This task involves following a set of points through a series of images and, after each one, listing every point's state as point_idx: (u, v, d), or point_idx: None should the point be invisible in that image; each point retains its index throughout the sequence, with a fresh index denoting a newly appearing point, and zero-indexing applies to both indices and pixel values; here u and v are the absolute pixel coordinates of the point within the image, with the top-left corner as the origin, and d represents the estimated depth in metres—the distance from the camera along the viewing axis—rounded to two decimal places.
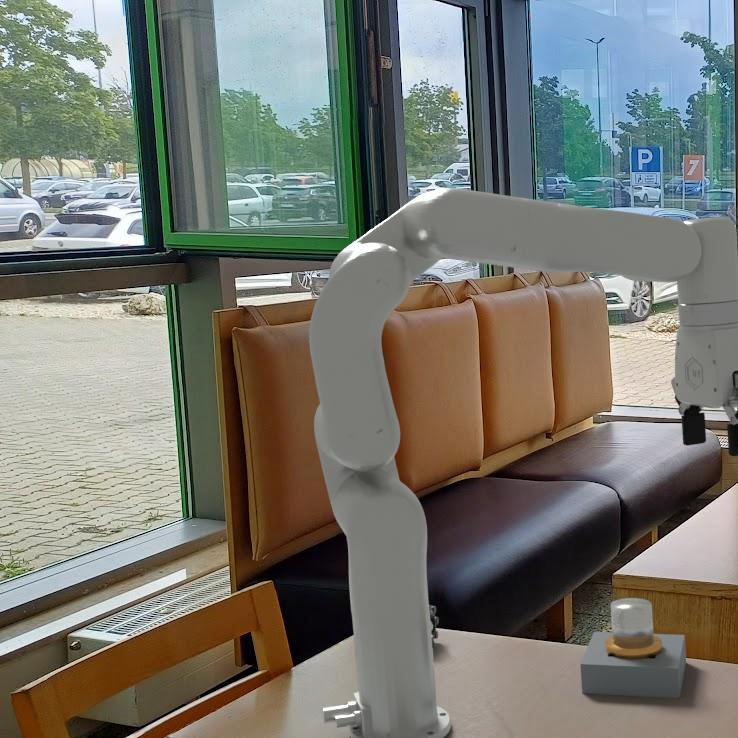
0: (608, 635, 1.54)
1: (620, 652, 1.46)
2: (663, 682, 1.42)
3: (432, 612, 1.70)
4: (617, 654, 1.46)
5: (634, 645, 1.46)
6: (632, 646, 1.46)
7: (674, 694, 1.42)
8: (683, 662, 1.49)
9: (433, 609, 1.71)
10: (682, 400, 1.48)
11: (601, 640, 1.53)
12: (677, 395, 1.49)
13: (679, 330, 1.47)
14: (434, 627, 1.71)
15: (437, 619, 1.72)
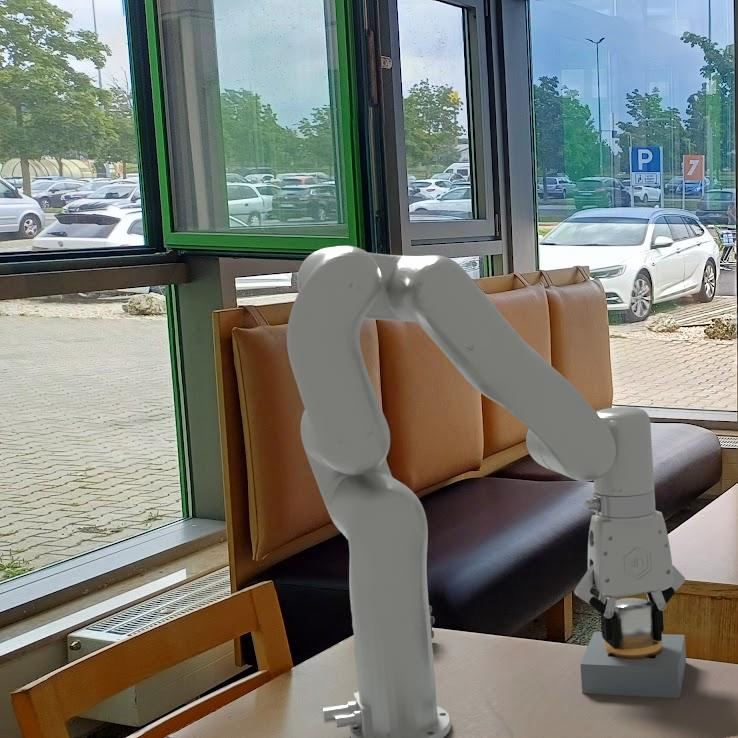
0: None
1: (620, 652, 1.46)
2: (663, 682, 1.42)
3: None
4: (617, 654, 1.46)
5: (634, 645, 1.46)
6: (632, 646, 1.46)
7: (674, 694, 1.42)
8: (683, 662, 1.49)
9: (429, 609, 1.71)
10: (617, 594, 1.45)
11: (601, 640, 1.53)
12: (608, 591, 1.44)
13: (609, 524, 1.44)
14: None
15: (433, 619, 1.72)
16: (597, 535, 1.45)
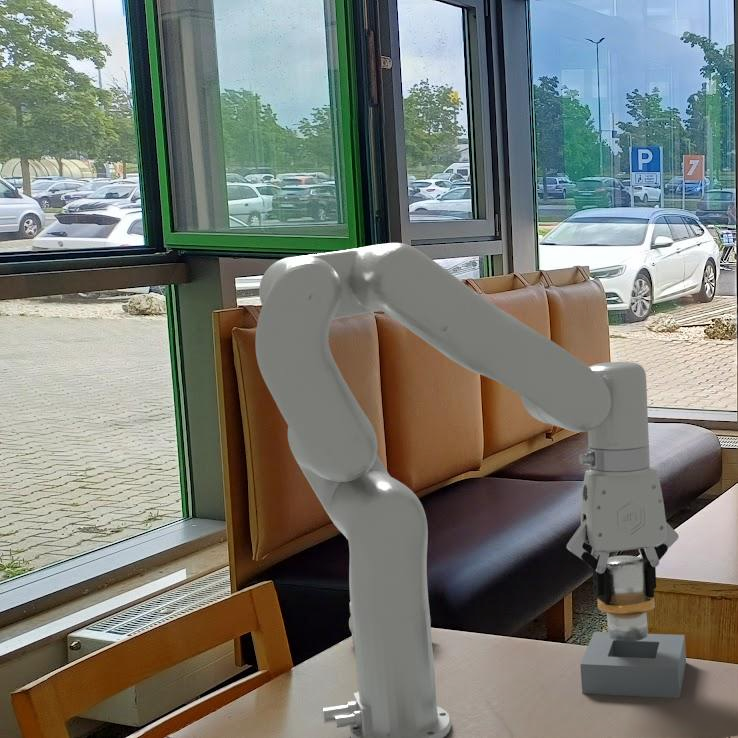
0: None
1: (613, 608, 1.45)
2: (663, 682, 1.42)
3: None
4: (609, 610, 1.45)
5: (627, 601, 1.45)
6: (625, 602, 1.45)
7: (674, 694, 1.42)
8: (683, 662, 1.49)
9: None
10: (609, 549, 1.44)
11: (601, 640, 1.53)
12: (601, 546, 1.44)
13: (603, 478, 1.43)
14: None
15: None
16: (591, 489, 1.44)
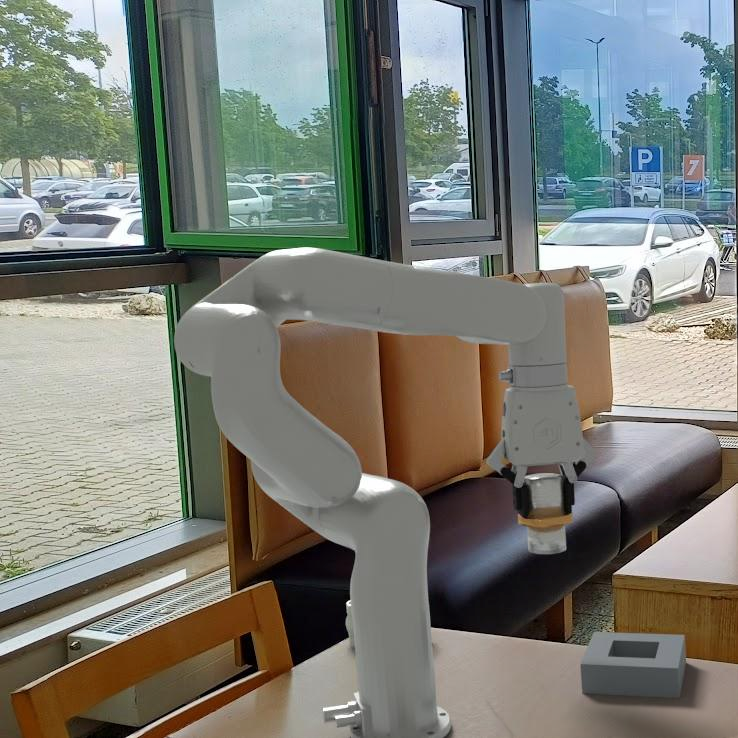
0: (608, 635, 1.54)
1: (530, 521, 1.49)
2: (663, 682, 1.42)
3: None
4: (527, 523, 1.50)
5: (544, 515, 1.49)
6: (542, 516, 1.49)
7: (674, 694, 1.42)
8: (683, 662, 1.49)
9: None
10: (526, 463, 1.48)
11: (601, 640, 1.53)
12: (517, 459, 1.48)
13: (519, 393, 1.48)
14: None
15: None
16: (508, 404, 1.48)
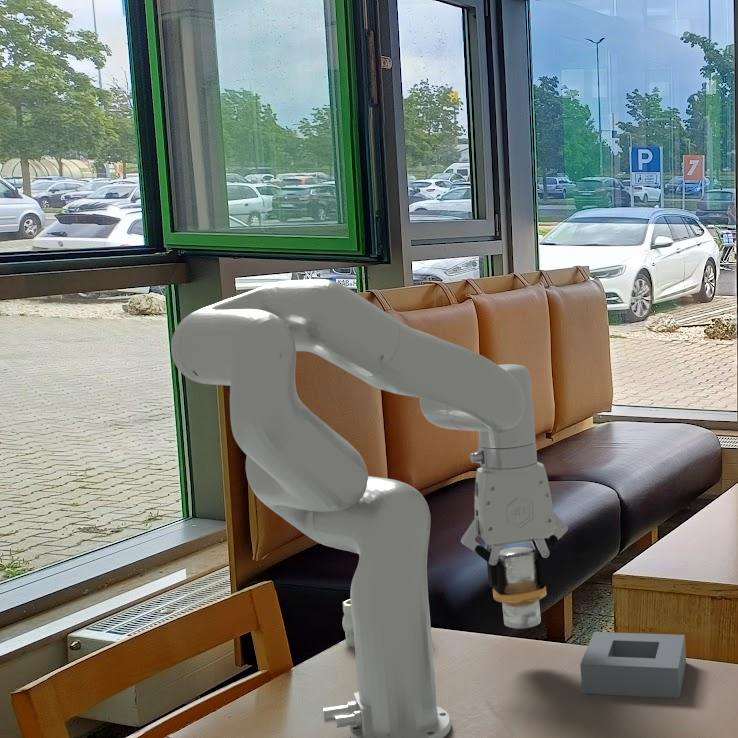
0: (608, 635, 1.54)
1: (505, 597, 1.53)
2: (663, 682, 1.42)
3: None
4: (502, 599, 1.53)
5: (518, 590, 1.53)
6: (516, 591, 1.53)
7: (674, 694, 1.42)
8: (683, 662, 1.49)
9: None
10: (500, 542, 1.52)
11: (601, 640, 1.53)
12: (491, 539, 1.52)
13: (491, 475, 1.51)
14: None
15: None
16: (480, 486, 1.52)
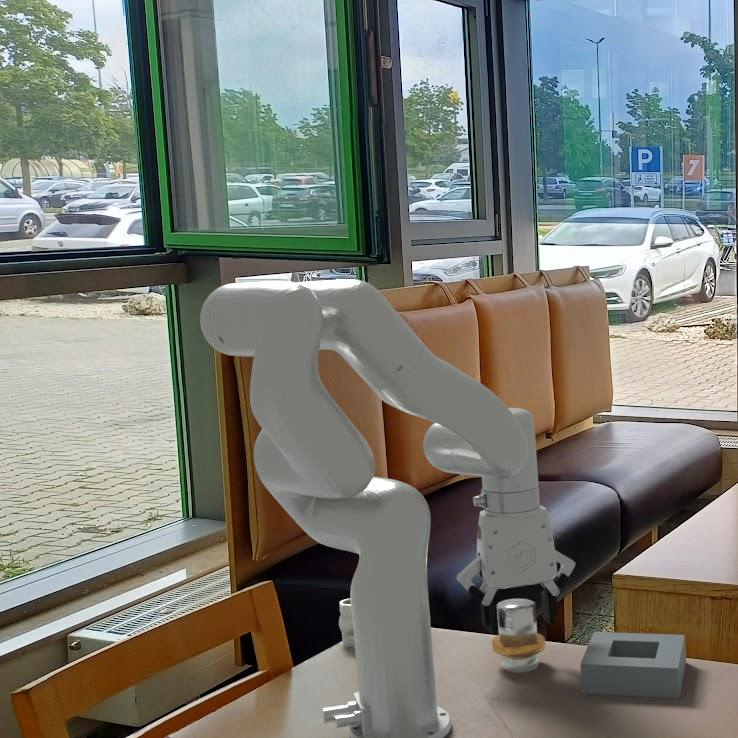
0: (608, 635, 1.54)
1: (504, 650, 1.53)
2: (663, 682, 1.42)
3: None
4: (501, 652, 1.54)
5: (517, 643, 1.54)
6: (516, 644, 1.54)
7: (674, 694, 1.42)
8: (683, 662, 1.49)
9: None
10: (502, 586, 1.52)
11: (601, 640, 1.53)
12: (493, 583, 1.52)
13: (494, 519, 1.52)
14: None
15: None
16: (483, 529, 1.52)
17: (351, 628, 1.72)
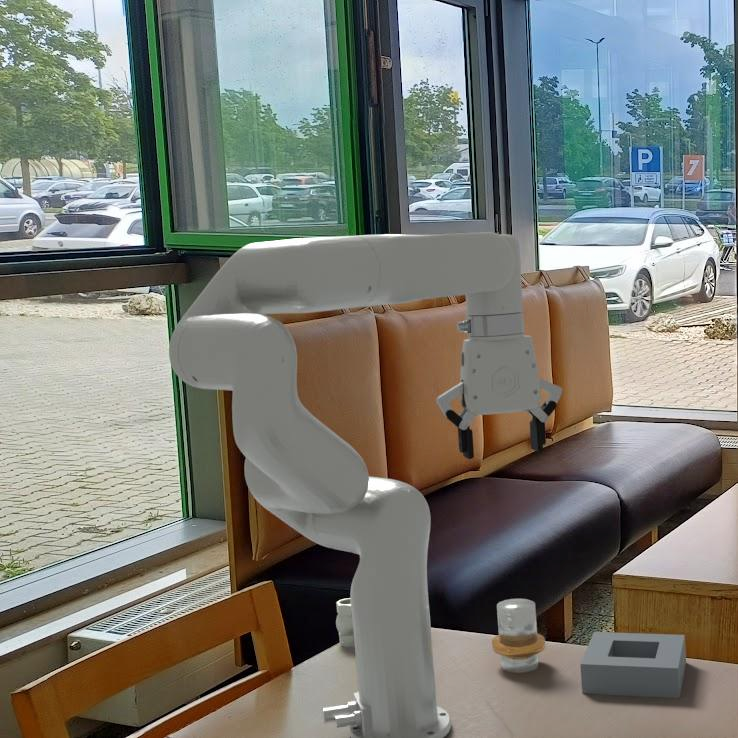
0: (608, 635, 1.54)
1: (504, 650, 1.53)
2: (663, 682, 1.42)
3: None
4: (501, 652, 1.54)
5: (517, 643, 1.54)
6: (516, 644, 1.54)
7: (674, 694, 1.42)
8: (683, 662, 1.49)
9: None
10: (484, 411, 1.50)
11: (601, 640, 1.53)
12: (476, 408, 1.50)
13: (477, 343, 1.50)
14: None
15: None
16: (466, 354, 1.51)
17: (348, 628, 1.72)
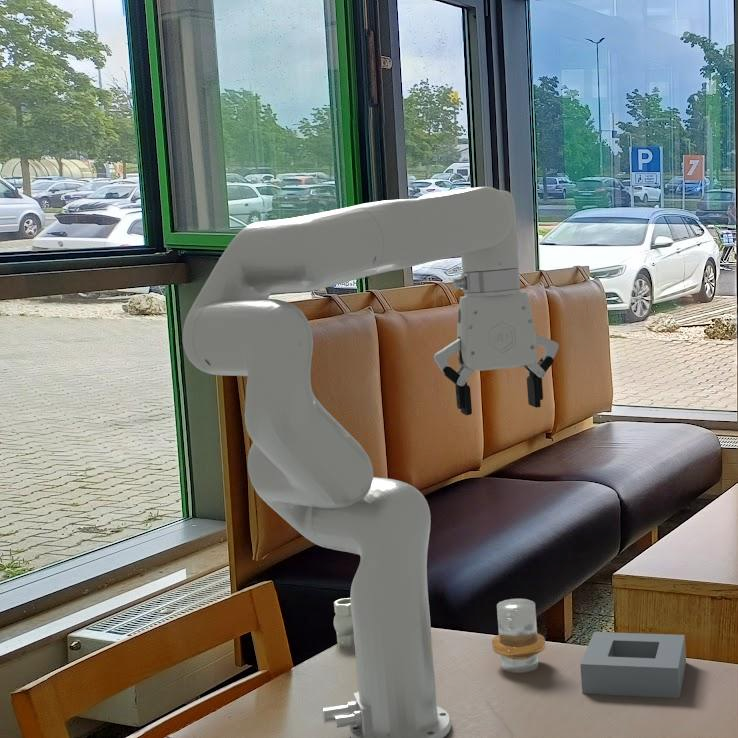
0: (608, 635, 1.54)
1: (504, 650, 1.53)
2: (663, 682, 1.42)
3: None
4: (501, 652, 1.54)
5: (517, 643, 1.54)
6: (516, 644, 1.54)
7: (674, 694, 1.42)
8: (683, 662, 1.49)
9: None
10: (482, 367, 1.51)
11: (601, 640, 1.53)
12: (473, 364, 1.51)
13: (474, 299, 1.51)
14: None
15: None
16: (463, 310, 1.51)
17: (346, 628, 1.73)
